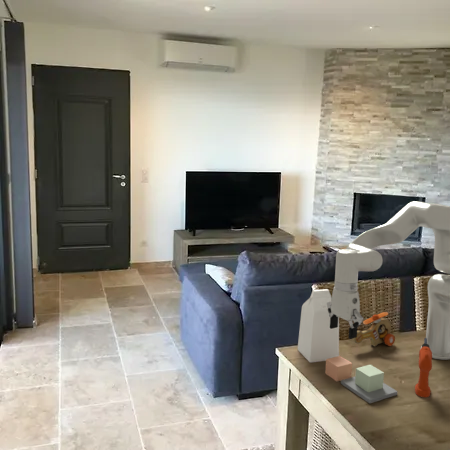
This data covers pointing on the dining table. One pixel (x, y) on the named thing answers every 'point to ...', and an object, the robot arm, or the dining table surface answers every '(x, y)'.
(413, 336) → the dining table surface
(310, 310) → the milk
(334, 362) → the terracotta block
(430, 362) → the toy drill
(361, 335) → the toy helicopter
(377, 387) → the sage block
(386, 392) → the gray plate
